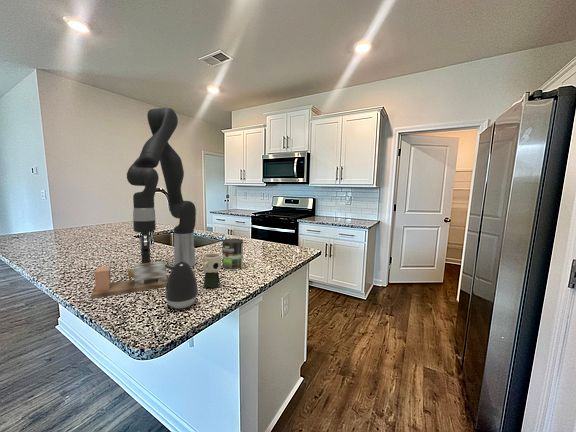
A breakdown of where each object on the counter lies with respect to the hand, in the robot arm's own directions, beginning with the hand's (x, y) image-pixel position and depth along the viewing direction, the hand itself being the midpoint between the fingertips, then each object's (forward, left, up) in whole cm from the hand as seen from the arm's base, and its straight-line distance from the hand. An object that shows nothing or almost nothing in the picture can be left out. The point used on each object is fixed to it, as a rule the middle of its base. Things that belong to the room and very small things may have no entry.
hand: (145, 261), depth 98 cm
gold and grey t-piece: (-1, 0, -5) cm, 5 cm away
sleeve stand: (+5, 0, -10) cm, 11 cm away
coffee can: (-38, -7, -10) cm, 40 cm away
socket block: (+14, 0, -8) cm, 16 cm away
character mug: (-23, +12, -10) cm, 28 cm away
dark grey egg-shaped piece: (-10, +24, -10) cm, 28 cm away
